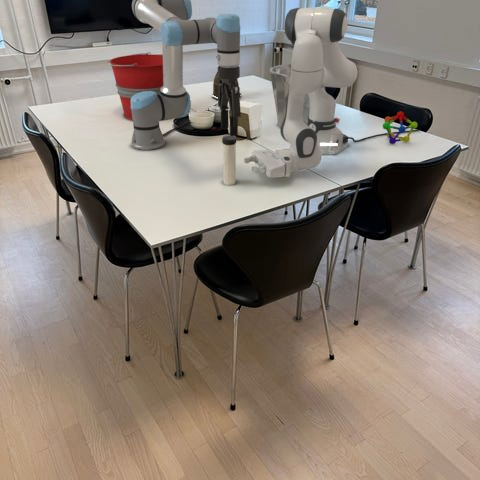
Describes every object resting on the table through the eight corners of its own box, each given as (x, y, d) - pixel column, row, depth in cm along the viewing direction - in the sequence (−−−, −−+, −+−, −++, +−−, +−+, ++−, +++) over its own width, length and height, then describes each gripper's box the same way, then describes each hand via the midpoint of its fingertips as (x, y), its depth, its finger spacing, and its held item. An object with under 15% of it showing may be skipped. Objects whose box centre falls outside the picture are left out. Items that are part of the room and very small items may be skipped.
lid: (236, 145, 161) (236, 140, 160) (222, 145, 161) (222, 140, 160) (236, 140, 166) (236, 135, 165) (222, 140, 165) (222, 135, 164)
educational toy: (377, 146, 209) (379, 114, 202) (384, 138, 219) (386, 107, 211) (411, 149, 202) (415, 116, 195) (417, 141, 212) (420, 109, 204)
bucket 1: (123, 105, 263) (116, 51, 247) (182, 106, 262) (179, 52, 247) (107, 123, 234) (97, 63, 218) (173, 124, 233) (168, 64, 217)
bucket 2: (296, 138, 215) (301, 78, 201) (255, 124, 234) (256, 68, 219) (335, 125, 232) (342, 70, 217) (294, 113, 251) (297, 61, 236)
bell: (227, 105, 294) (202, 96, 282) (238, 66, 289) (213, 55, 277) (243, 108, 280) (217, 98, 268) (255, 66, 275) (229, 55, 263)
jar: (235, 185, 170) (235, 141, 161) (223, 185, 170) (222, 141, 160) (235, 179, 174) (235, 136, 165) (223, 180, 174) (222, 136, 164)
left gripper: (207, 61, 156) (209, 124, 168) (230, 72, 140) (230, 141, 152) (227, 59, 158) (228, 122, 171) (251, 70, 142) (250, 139, 154)
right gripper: (272, 144, 181) (240, 148, 177) (292, 162, 164) (257, 167, 160) (271, 159, 184) (239, 163, 180) (291, 178, 167) (257, 183, 164)
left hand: (229, 131), depth 161 cm, fingers open, 8 cm apart
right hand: (248, 165), depth 170 cm, fingers open, 8 cm apart
